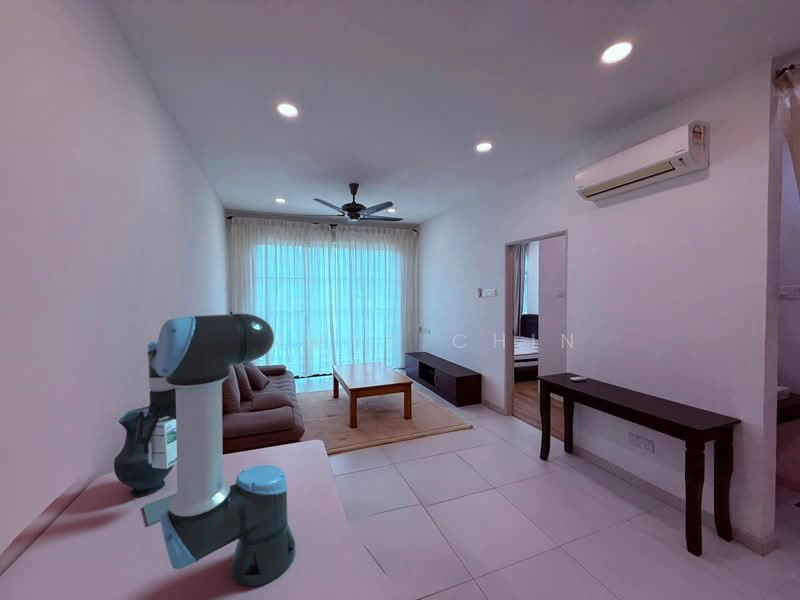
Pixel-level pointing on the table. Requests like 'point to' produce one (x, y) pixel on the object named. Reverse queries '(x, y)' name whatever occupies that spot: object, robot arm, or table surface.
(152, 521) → the mat
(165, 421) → the syrup box
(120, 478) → the pitcher
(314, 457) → the table surface
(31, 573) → the table surface
